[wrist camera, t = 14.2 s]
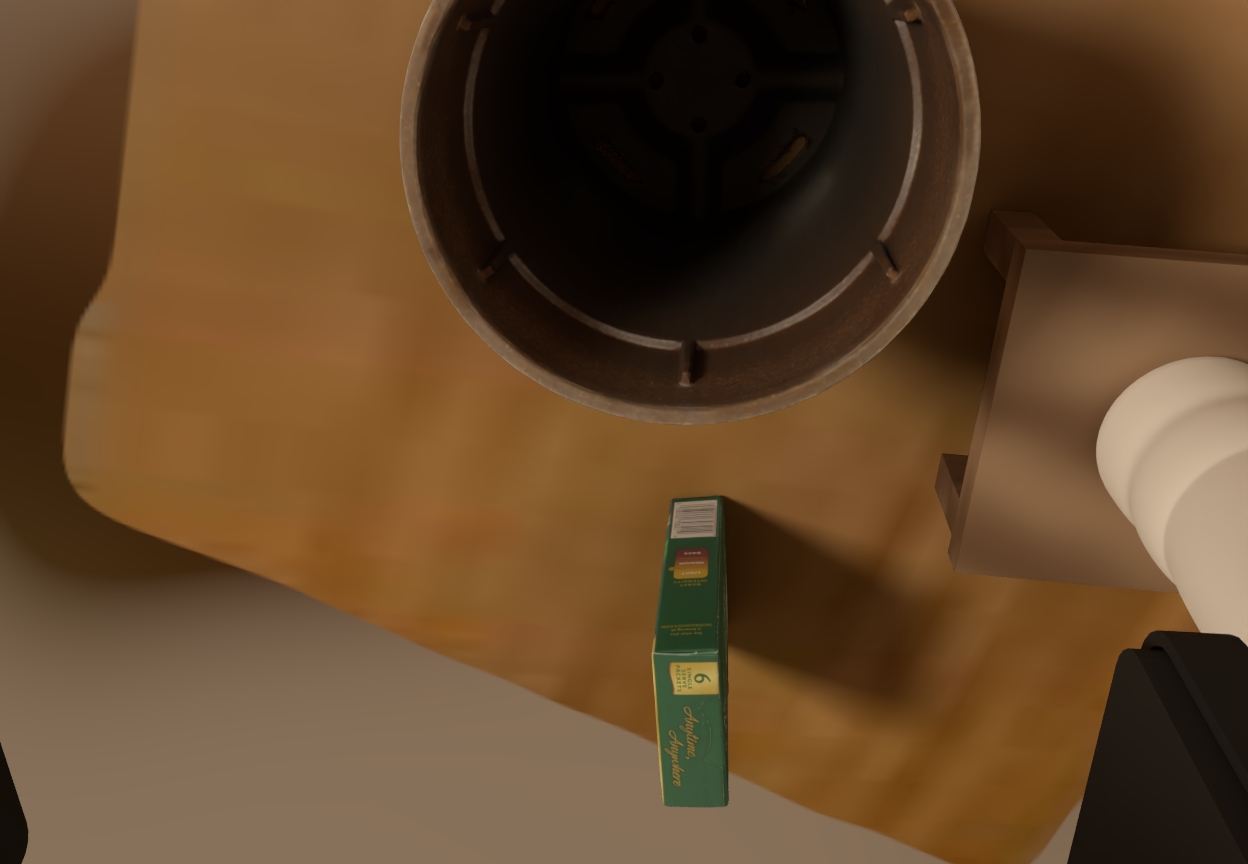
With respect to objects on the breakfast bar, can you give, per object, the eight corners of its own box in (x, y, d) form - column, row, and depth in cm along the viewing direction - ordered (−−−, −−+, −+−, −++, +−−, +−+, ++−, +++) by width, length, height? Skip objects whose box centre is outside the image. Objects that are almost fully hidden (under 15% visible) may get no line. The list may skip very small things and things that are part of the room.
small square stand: (985, 202, 46) (1026, 249, 40) (1327, 227, 45) (1423, 279, 39) (927, 492, 52) (954, 572, 46) (1227, 518, 52) (1297, 603, 45)
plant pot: (740, 340, 50) (744, 519, 35) (434, 136, 47) (302, 239, 33) (984, 24, 43) (1113, 85, 29) (644, -235, 40) (598, -312, 26)
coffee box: (665, 489, 53) (648, 655, 42) (725, 488, 53) (724, 655, 41) (674, 626, 57) (659, 814, 45) (729, 625, 57) (730, 815, 45)
